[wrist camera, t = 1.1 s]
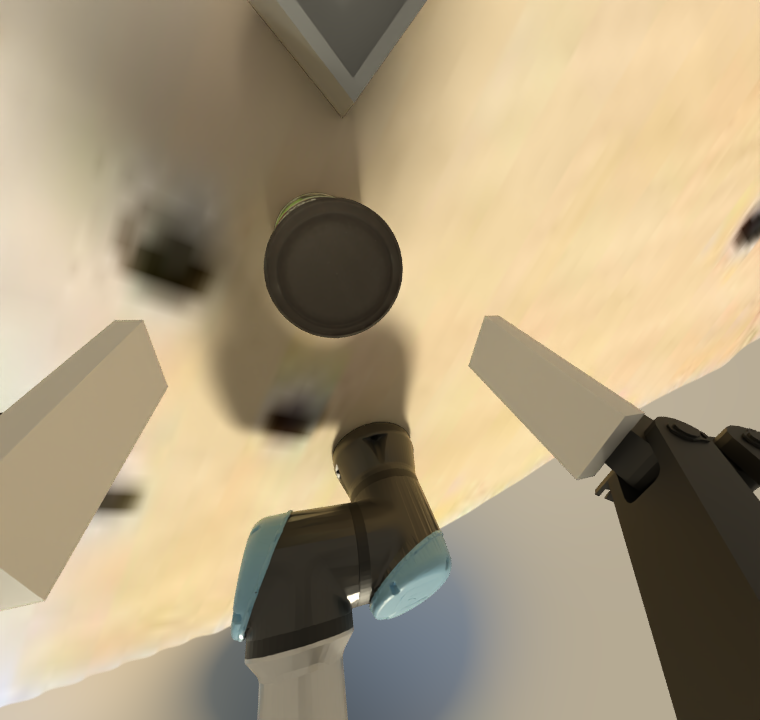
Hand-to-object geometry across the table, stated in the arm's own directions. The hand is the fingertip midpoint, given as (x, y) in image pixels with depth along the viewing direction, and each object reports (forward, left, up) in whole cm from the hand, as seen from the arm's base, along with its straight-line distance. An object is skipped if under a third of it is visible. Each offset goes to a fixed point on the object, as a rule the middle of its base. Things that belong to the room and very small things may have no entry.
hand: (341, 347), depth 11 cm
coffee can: (-1, -1, -25) cm, 25 cm away
